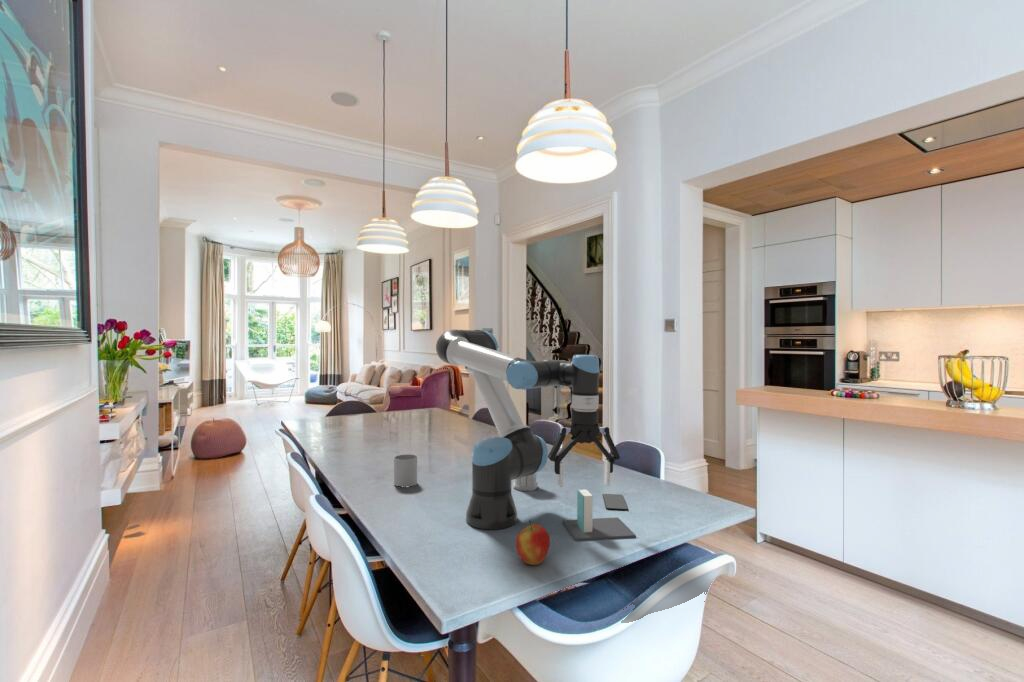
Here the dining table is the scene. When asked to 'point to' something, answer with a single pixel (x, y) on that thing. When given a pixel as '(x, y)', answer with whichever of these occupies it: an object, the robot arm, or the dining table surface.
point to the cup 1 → (405, 470)
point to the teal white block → (584, 510)
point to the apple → (533, 544)
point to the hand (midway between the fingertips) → (583, 484)
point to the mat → (600, 529)
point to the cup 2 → (526, 483)
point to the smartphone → (615, 502)
